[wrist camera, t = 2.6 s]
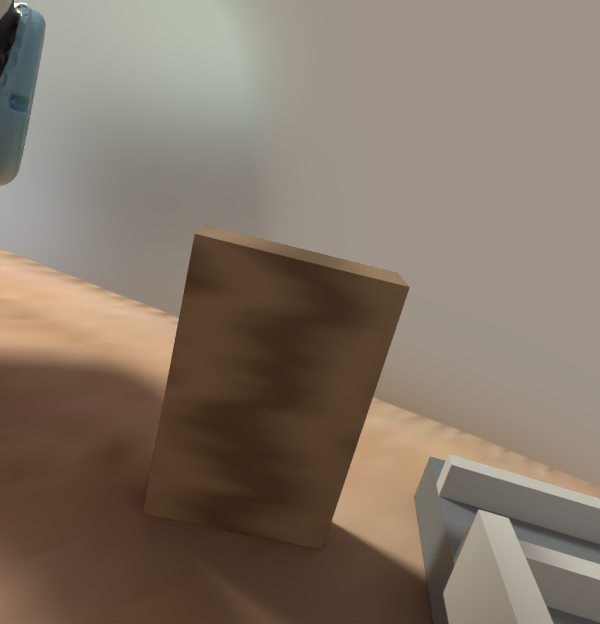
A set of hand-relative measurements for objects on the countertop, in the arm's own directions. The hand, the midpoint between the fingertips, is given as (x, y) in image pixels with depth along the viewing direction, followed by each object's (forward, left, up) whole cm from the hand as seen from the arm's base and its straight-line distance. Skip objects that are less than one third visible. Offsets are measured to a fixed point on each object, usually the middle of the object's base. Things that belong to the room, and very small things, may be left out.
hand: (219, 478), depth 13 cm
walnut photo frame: (0, +10, -10) cm, 14 cm away
